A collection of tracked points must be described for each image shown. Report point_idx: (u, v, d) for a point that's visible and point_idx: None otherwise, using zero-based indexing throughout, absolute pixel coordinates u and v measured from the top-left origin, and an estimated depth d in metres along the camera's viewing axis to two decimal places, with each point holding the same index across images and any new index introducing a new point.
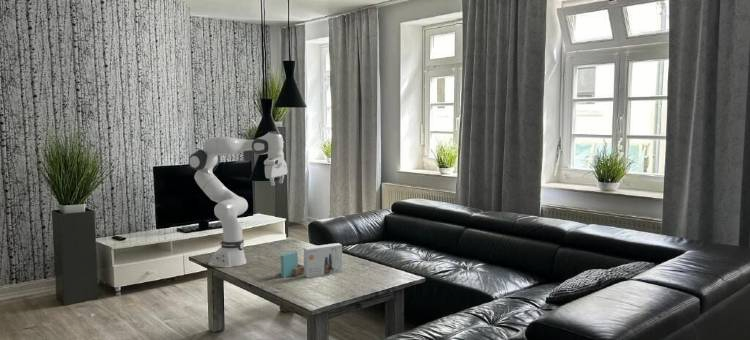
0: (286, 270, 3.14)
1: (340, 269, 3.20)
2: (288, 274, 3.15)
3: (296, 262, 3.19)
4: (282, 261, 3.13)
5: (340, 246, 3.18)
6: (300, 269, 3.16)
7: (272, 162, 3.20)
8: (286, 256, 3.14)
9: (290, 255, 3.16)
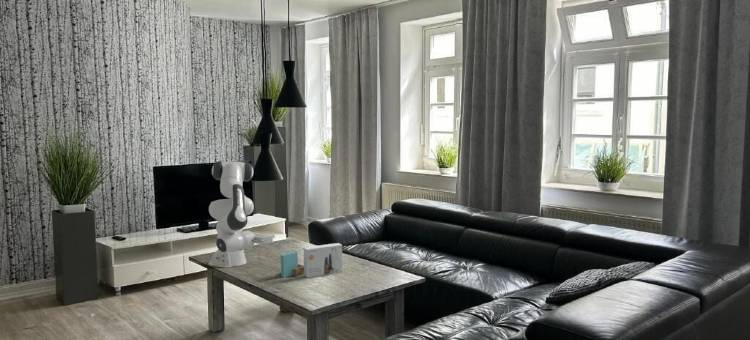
0: (286, 270, 3.14)
1: (340, 269, 3.20)
2: (288, 274, 3.15)
3: (296, 262, 3.19)
4: (282, 261, 3.13)
5: (340, 246, 3.18)
6: (300, 269, 3.16)
7: None
8: (286, 256, 3.14)
9: (290, 255, 3.16)
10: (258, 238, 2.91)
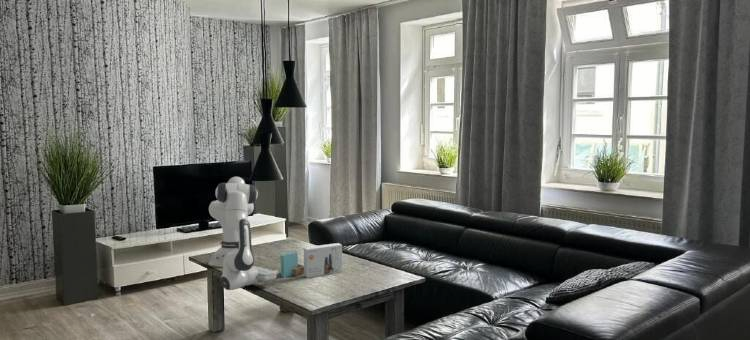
0: (286, 270, 3.14)
1: (340, 269, 3.20)
2: (288, 274, 3.15)
3: (296, 262, 3.19)
4: (282, 261, 3.13)
5: (340, 246, 3.18)
6: (300, 269, 3.16)
7: None
8: (286, 256, 3.14)
9: (290, 255, 3.16)
10: (262, 275, 2.94)
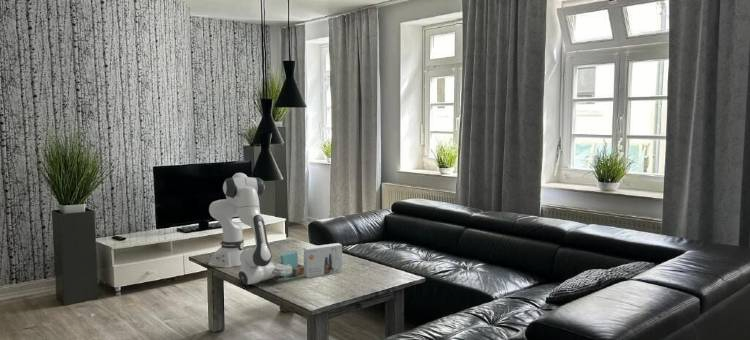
0: None
1: (340, 269, 3.20)
2: (288, 274, 3.15)
3: (296, 262, 3.19)
4: (282, 261, 3.13)
5: (340, 246, 3.18)
6: (300, 269, 3.16)
7: None
8: (286, 256, 3.14)
9: (290, 255, 3.16)
10: (278, 270, 3.02)
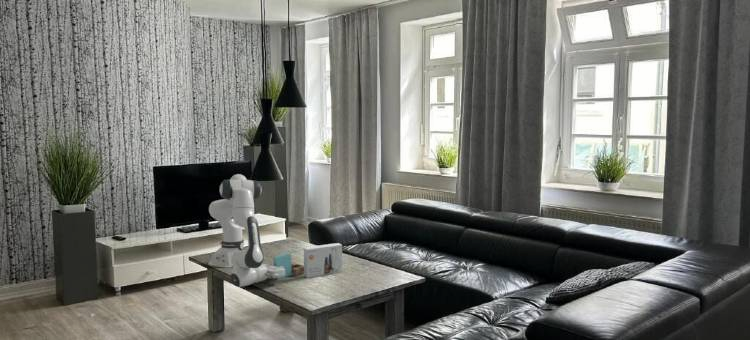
0: None
1: (340, 269, 3.20)
2: (281, 276, 3.12)
3: (289, 264, 3.16)
4: (275, 263, 3.09)
5: (340, 246, 3.18)
6: (300, 269, 3.16)
7: None
8: (279, 258, 3.10)
9: (283, 257, 3.12)
10: (271, 272, 2.98)
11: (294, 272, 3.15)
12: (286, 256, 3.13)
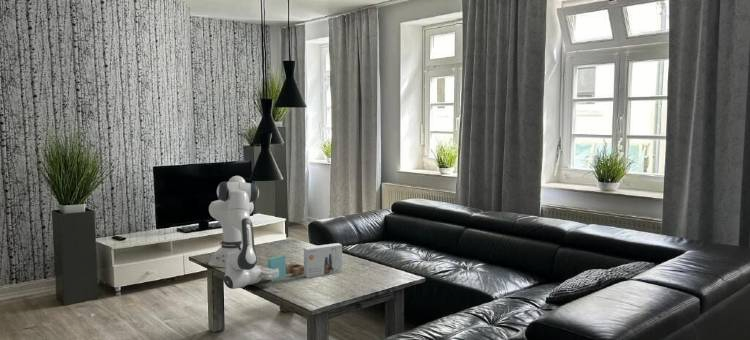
0: None
1: (340, 269, 3.20)
2: (276, 278, 3.09)
3: (284, 266, 3.13)
4: (269, 265, 3.06)
5: (340, 246, 3.18)
6: (300, 269, 3.16)
7: None
8: (273, 259, 3.07)
9: (278, 258, 3.09)
10: (264, 274, 2.95)
11: (294, 272, 3.15)
12: (281, 258, 3.11)
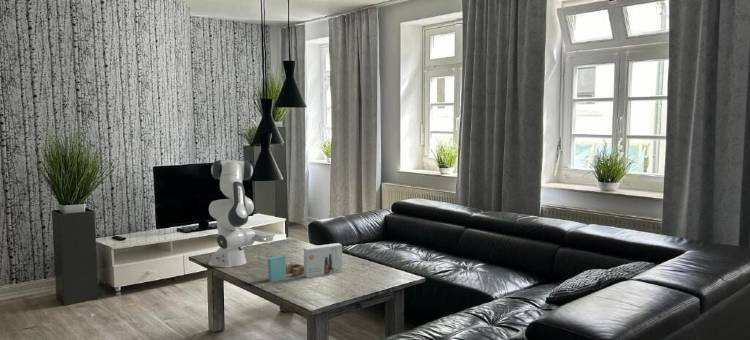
0: (273, 274, 3.07)
1: (340, 269, 3.20)
2: (276, 278, 3.09)
3: (284, 266, 3.13)
4: (269, 265, 3.06)
5: (340, 246, 3.18)
6: (300, 269, 3.16)
7: None
8: (273, 259, 3.07)
9: (278, 258, 3.09)
10: (259, 236, 2.91)
11: (294, 272, 3.15)
12: (280, 258, 3.11)
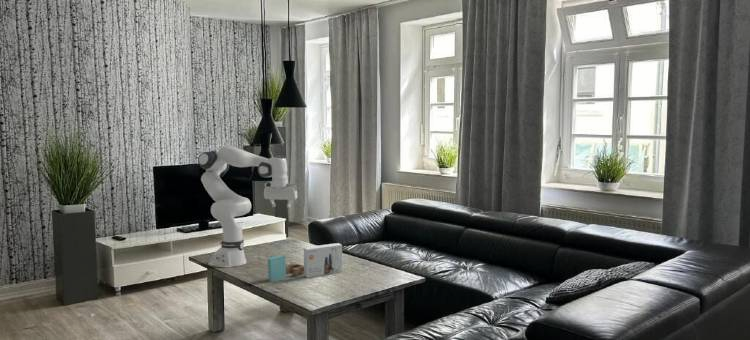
0: (273, 274, 3.07)
1: (340, 269, 3.20)
2: (276, 278, 3.09)
3: (284, 266, 3.13)
4: (269, 265, 3.06)
5: (340, 246, 3.18)
6: (300, 269, 3.16)
7: None
8: (273, 259, 3.07)
9: (278, 258, 3.09)
10: None
11: (294, 272, 3.15)
12: (280, 258, 3.11)
